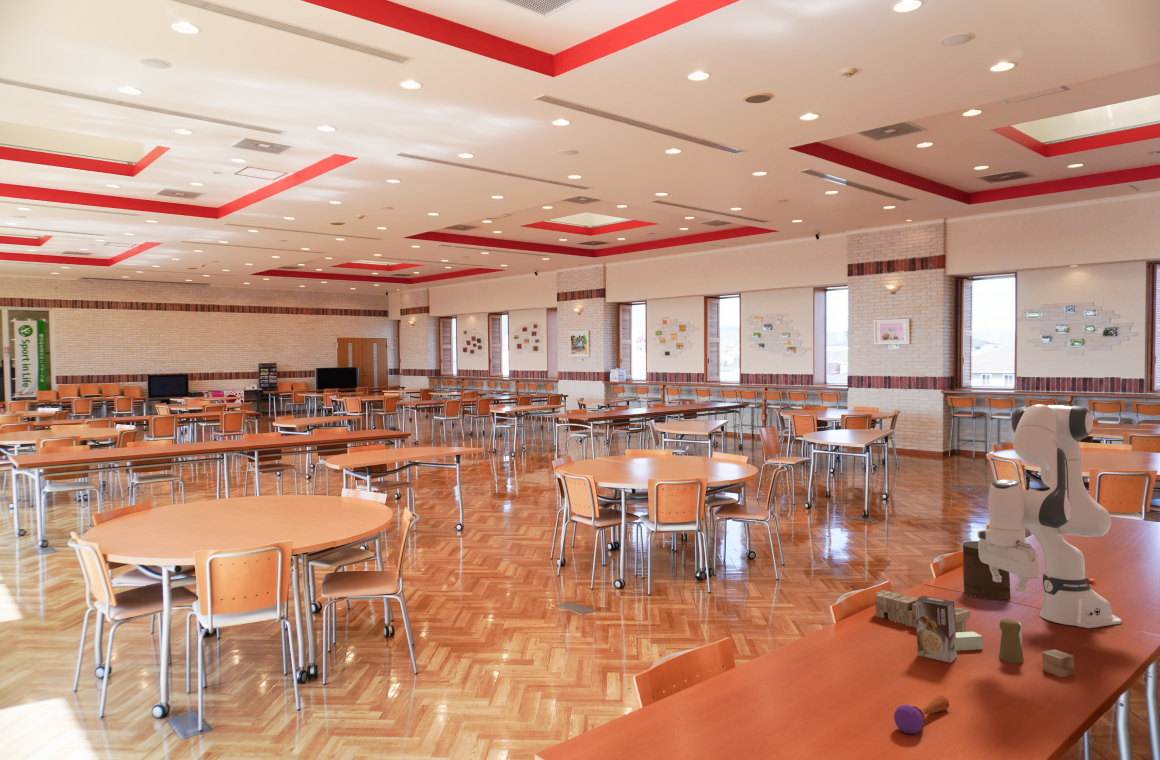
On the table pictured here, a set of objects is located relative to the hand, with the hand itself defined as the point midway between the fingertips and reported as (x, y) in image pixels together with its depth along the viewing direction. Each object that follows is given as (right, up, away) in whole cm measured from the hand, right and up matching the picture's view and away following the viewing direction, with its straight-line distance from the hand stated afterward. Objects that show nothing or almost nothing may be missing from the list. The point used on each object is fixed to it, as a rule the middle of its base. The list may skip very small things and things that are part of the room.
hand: (1008, 586), depth 195 cm
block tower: (-11, -22, +29) cm, 38 cm away
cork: (+1, -21, 0) cm, 21 cm away
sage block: (-7, -21, +9) cm, 24 cm away
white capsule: (+7, -21, +9) cm, 24 cm away
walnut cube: (+7, -21, -10) cm, 24 cm away
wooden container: (+29, -21, +59) cm, 69 cm away
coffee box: (-19, -21, +3) cm, 29 cm away
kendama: (-42, -22, -35) cm, 58 cm away
